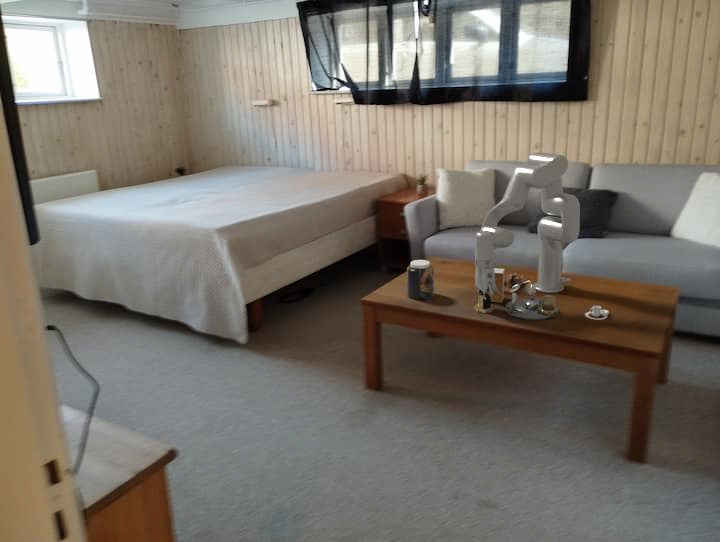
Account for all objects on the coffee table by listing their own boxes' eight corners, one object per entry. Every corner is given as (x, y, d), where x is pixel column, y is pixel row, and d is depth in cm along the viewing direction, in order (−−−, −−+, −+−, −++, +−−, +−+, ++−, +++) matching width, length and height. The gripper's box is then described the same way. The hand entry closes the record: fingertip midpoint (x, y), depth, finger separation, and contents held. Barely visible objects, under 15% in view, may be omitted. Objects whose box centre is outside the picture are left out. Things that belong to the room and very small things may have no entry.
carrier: (542, 299, 249) (542, 280, 247) (567, 316, 230) (569, 296, 228) (497, 304, 245) (497, 286, 243) (519, 323, 227) (520, 303, 224)
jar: (404, 299, 257) (403, 266, 252) (410, 290, 267) (409, 258, 263) (432, 300, 253) (431, 267, 249) (436, 291, 264) (436, 259, 259)
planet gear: (488, 305, 246) (489, 290, 244) (496, 311, 239) (496, 296, 237) (471, 307, 244) (471, 292, 242) (478, 314, 237) (479, 298, 235)
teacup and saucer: (607, 313, 233) (608, 303, 231) (611, 321, 225) (611, 311, 224) (583, 312, 235) (584, 302, 233) (586, 320, 227) (587, 310, 226)
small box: (482, 301, 250) (483, 272, 246) (484, 296, 255) (484, 267, 251) (502, 303, 247) (503, 273, 243) (503, 297, 253) (504, 268, 249)
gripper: (502, 267, 228) (501, 312, 234) (485, 255, 244) (484, 297, 249) (484, 269, 227) (483, 314, 232) (467, 257, 242) (467, 299, 248)
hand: (484, 305), depth 241 cm, fingers closed on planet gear, 4 cm apart
